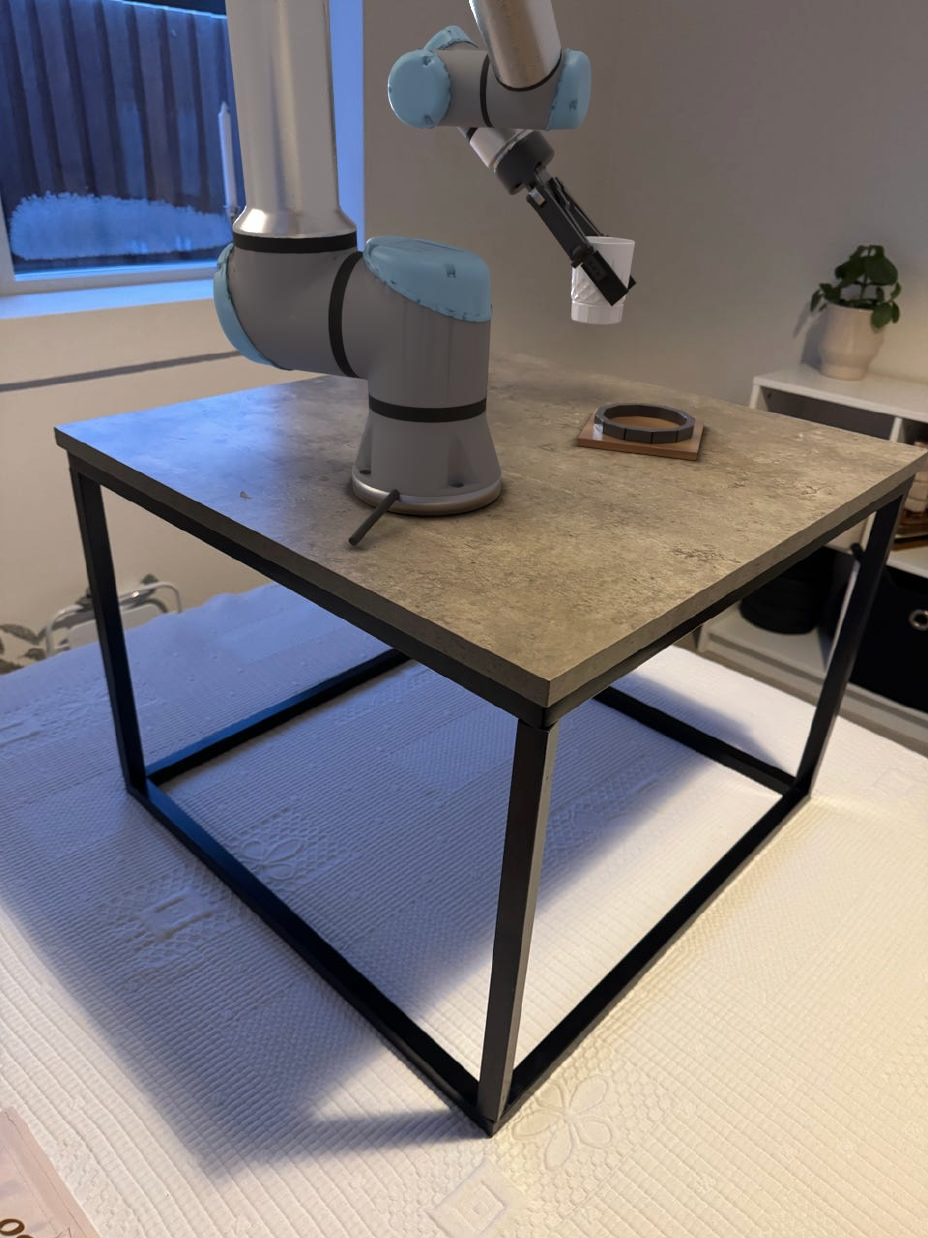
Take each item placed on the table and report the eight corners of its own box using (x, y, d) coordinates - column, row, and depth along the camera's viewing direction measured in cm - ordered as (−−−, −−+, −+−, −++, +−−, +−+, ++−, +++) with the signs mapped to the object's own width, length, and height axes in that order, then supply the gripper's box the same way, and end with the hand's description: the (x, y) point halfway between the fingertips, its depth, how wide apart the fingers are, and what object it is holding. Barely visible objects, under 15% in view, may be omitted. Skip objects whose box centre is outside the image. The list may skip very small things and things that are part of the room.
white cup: (596, 312, 121) (605, 235, 116) (637, 323, 115) (648, 242, 110) (554, 317, 116) (561, 237, 111) (594, 328, 111) (604, 244, 106)
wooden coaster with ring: (695, 460, 99) (699, 439, 98) (576, 445, 103) (578, 425, 101) (703, 427, 111) (706, 407, 110) (596, 414, 114) (598, 395, 113)
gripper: (516, 124, 99) (638, 284, 103) (552, 128, 116) (655, 265, 120) (470, 173, 102) (589, 326, 106) (511, 170, 120) (613, 302, 124)
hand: (624, 294), depth 113 cm, fingers closed on white cup, 8 cm apart
